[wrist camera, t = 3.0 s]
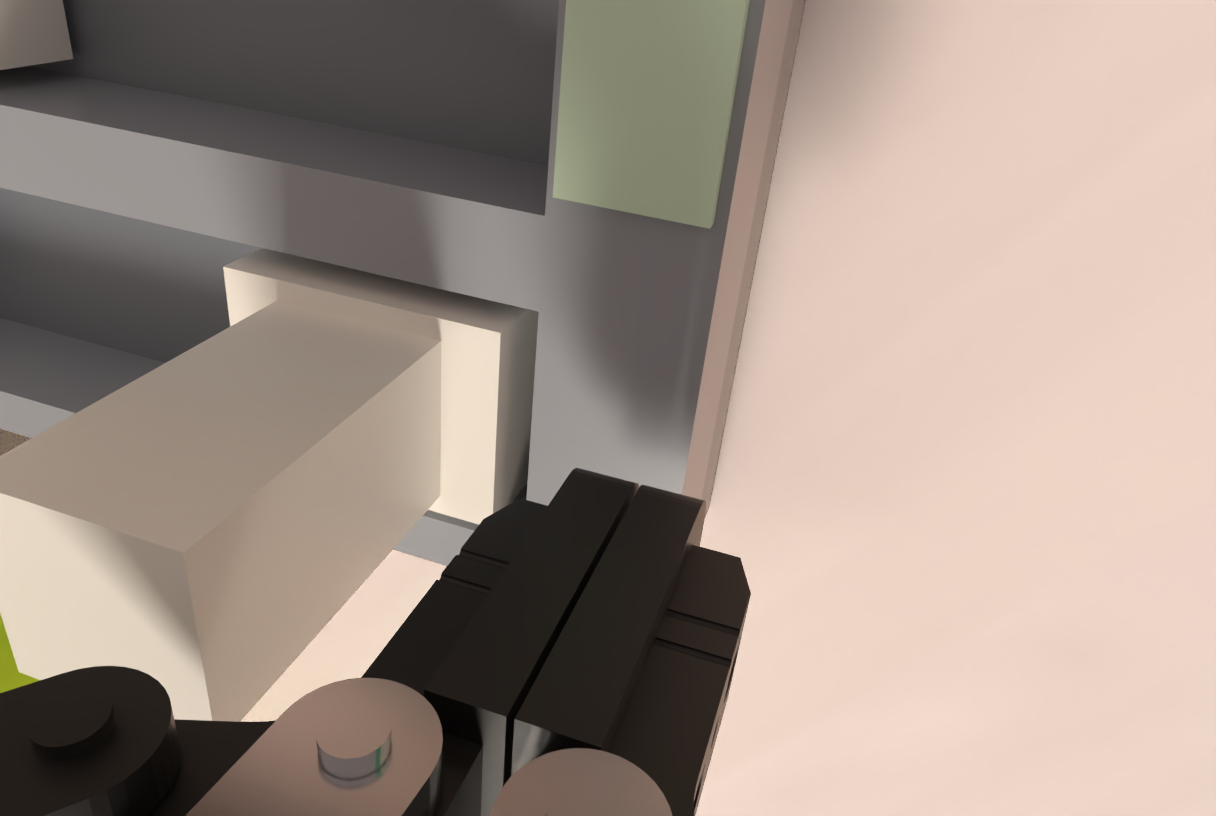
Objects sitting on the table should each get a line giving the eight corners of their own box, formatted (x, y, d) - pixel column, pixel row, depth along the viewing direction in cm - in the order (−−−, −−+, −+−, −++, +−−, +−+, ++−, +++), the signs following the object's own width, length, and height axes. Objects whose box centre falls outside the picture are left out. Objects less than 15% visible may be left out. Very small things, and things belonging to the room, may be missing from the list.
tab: (559, 279, 13) (261, 550, 7) (545, 457, 14) (291, 796, 9) (311, 224, 14) (-120, 429, 8) (323, 397, 15) (-36, 669, 10)
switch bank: (841, -195, 10) (802, -239, 8) (709, 508, 15) (654, 640, 13) (-241, -289, 14) (-535, -341, 11) (-68, 297, 19) (-244, 362, 16)
